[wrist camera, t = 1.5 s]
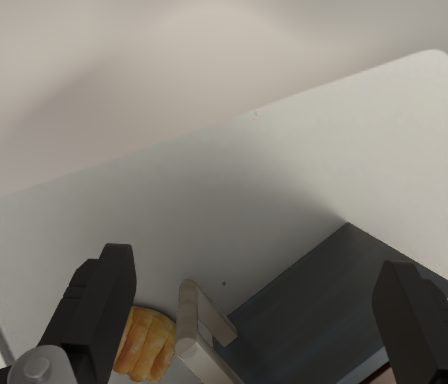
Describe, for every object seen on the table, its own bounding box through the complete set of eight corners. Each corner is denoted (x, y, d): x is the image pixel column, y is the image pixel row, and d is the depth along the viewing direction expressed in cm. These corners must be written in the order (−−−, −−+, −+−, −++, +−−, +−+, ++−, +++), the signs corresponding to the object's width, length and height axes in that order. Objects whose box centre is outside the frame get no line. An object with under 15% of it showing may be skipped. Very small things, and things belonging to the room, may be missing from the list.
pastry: (73, 342, 38) (60, 365, 34) (100, 283, 37) (90, 300, 33) (160, 375, 39) (156, 401, 35) (187, 318, 38) (187, 338, 35)
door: (168, 280, 37) (148, 391, 21) (308, 168, 37) (396, 197, 21) (217, 335, 39) (233, 479, 23) (353, 229, 38) (469, 299, 22)
